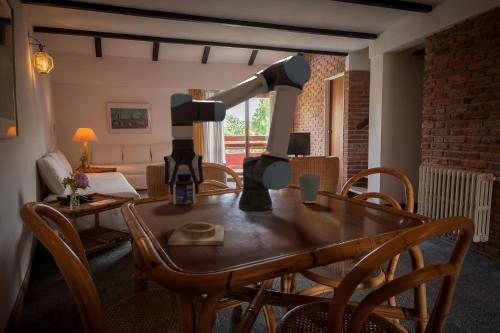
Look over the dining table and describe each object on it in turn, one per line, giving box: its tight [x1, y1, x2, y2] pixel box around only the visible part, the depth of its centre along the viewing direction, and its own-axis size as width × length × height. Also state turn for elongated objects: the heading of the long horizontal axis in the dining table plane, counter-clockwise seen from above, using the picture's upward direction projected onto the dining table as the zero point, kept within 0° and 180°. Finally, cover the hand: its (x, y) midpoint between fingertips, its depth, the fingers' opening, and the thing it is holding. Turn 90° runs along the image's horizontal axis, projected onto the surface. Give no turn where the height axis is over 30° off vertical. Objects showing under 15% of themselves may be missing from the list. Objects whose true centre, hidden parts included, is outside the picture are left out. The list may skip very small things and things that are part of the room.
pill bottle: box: [175, 173, 194, 207], centre depth 112 cm, size 6×6×11 cm
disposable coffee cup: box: [298, 172, 322, 202], centre depth 152 cm, size 11×11×15 cm
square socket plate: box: [167, 221, 226, 246], centre depth 99 cm, size 16×16×3 cm
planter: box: [163, 154, 199, 204], centre depth 150 cm, size 16×16×22 cm
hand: (185, 203), depth 112 cm, fingers closed on pill bottle, 6 cm apart
